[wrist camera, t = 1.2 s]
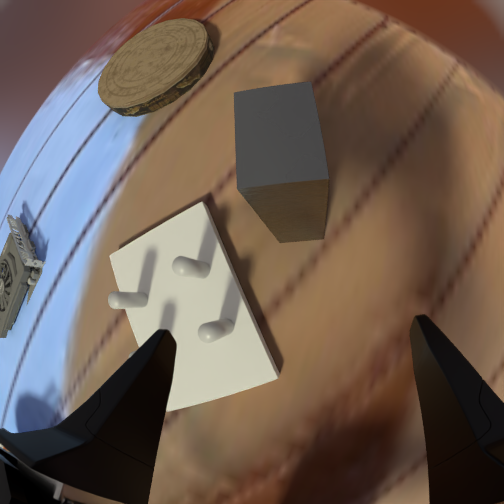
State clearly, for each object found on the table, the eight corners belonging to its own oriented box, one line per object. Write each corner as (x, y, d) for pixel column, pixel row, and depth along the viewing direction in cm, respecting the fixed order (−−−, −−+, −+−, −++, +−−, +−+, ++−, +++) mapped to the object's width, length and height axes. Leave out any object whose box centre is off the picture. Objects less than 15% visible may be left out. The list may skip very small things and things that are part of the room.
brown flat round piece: (103, 135, 31) (89, 125, 28) (117, 58, 34) (108, 48, 31) (219, 91, 28) (210, 75, 25) (212, 19, 30) (205, 5, 27)
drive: (324, 239, 23) (331, 178, 10) (279, 242, 24) (237, 189, 11) (317, 181, 24) (312, 81, 11) (275, 185, 24) (233, 92, 12)
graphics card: (8, 207, 30) (27, 260, 27) (26, 213, 34) (49, 263, 30) (-21, 288, 31) (-3, 344, 28) (-6, 290, 35) (15, 343, 31)
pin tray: (279, 374, 22) (269, 395, 17) (173, 407, 24) (144, 427, 19) (207, 205, 26) (181, 185, 21) (116, 257, 27) (82, 250, 22)
